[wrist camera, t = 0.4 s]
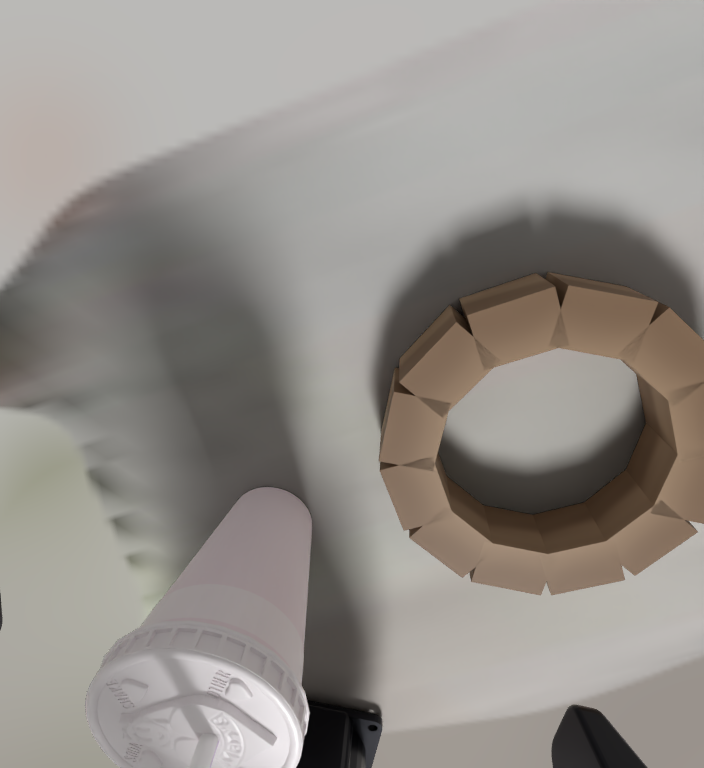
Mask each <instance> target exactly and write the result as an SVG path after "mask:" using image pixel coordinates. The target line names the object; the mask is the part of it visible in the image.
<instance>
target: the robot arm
mask: <svg viewBox="0 0 704 768" xmlns="http://www.w3.org/2000/svg"><path fill="white" fill-rule="evenodd" d="M1 626H2V608H1V595H0V630H1ZM307 702H308V707H309V711H310V714H309V721H308V727H307V733H306V735H305V736H304V742H303V748H302V753H301V757H300V760H299V763H298V765H297V767H296V768H371V767H372V764H373V760H374V757H375V753H376V750H377V746H378V743H379V739H380V736H381V732H382V718H381V717H380V716H378V715H375V714H371V713H366V712H361V711H356V710H351V709H346V708H342V707H337V706H332V705H327V704H322V703H317V702H312V701H307ZM552 762H553V768H647V766H646V765H645V764H644V763H643V762H642V760H641V759H640V758H639V757H638V756H637V754H636V753H635V752H634V751H633V750H632V748H631V747H630V746H629V745H628V744H627V743H626V741H625V740H624V739H623V738H622V737H621V735H620V734H619V733H618V732H617V730H616V729H615V728H614V727H613V726H612V724H611V723H610V722H609V721H608V720H607V719H606V717H605V716H604V715H603V714H602V713H601V712H600V711H598V710H597V709H594V708H589V707H584V706H580V705H571V706H569V707H568V709H567V711H566V712H565V715H564V717H563V719H562V721H561V723H560V725H559V728H558V730H557V732H556V734H555V736H554V739H553V743H552Z"/></svg>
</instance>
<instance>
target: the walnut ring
mask: <svg viewBox="0 0 704 768" xmlns="http://www.w3.org/2000/svg"><path fill="white" fill-rule="evenodd" d="M459 300H460V303H461V306H462V310H463V313H464V316H465V318H464V317H463V316H462V315H461V314H460V313H459V312H457V311H456V310H455V309H454V308H453V307H452V306H451V305H449V306H448V307H447V308H446V309H445V310H444V311H443V313H442V314H441V315H440V316H439V317H438V318H437V319H436V320H435V321H434V322H433V323H432V324H431V325H430V326H429V328H428V329H427V330H426V331H425V332H424V333H423V334H422V335H421V336H420V337H419V338H418V339H417V340H416V341H415V343H414V344H413V345H412V346H411V347H410V348H409V349H408V350H407V351H406V352H405V353H404V354H403V355H402V356H401V358H400V359H399V368H395V369H394V373H393V378H392V383H391V388H390V392H389V397H388V402H387V406H386V411H385V416H384V421H383V425H382V430H381V442H380V454H379V461H380V472H381V475H382V477H383V480H384V482H385V485H386V487H387V490H388V492H389V495H390V497H391V500H392V502H393V505H394V507H395V510H396V512H397V515H398V517H399V520H400V522H401V525H402V527H403V530H408V529H409V538H410V539H412V540H413V541H414V542H416V543H417V544H418V545H420V546H421V547H422V548H423V549H425V550H426V551H427V552H429V553H430V554H431V555H433V556H434V557H435V558H437V559H438V560H439V561H441V562H442V563H443V564H445V565H446V566H447V567H449V568H450V569H451V570H453V571H454V572H455V573H457V574H458V575H459V576H461V577H462V578H463V577H464V576H465V575H466V574H468V573H469V572H470V578H471V582H475V583H481V584H486V585H491V586H496V587H501V588H506V589H511V590H516V591H521V592H526V593H531V594H536V595H541V594H542V591H543V589H544V586H545V584H546V582H547V585H548V588H549V590H550V593H551V595H555V594H560V593H565V592H570V591H574V590H579V589H584V588H589V587H594V586H599V585H604V584H608V583H613V582H618V581H623V580H625V578H624V574H623V570H622V566H624V567H625V568H626V569H627V570H629V571H630V572H631V573H632V574H633V575H637V574H638V573H640V572H641V571H643V570H644V569H646V568H647V567H648V566H650V565H651V564H653V563H654V562H656V561H657V560H658V559H660V558H661V557H663V556H664V555H666V554H667V553H669V552H670V551H671V550H673V549H674V548H676V547H677V546H679V545H680V544H681V543H683V542H684V541H686V540H687V539H689V538H690V537H692V536H693V535H694V534H696V533H697V532H698V531H697V530H696V529H695V528H694V527H693V526H692V524H691V523H690V522H689V521H693V522H698V523H703V524H704V340H703V339H702V338H701V337H700V336H699V335H698V334H696V333H695V332H694V331H693V330H692V329H691V328H690V327H689V326H688V325H687V324H686V323H685V322H684V321H683V320H682V319H681V318H680V317H679V316H678V315H677V314H676V313H675V312H674V311H673V310H672V309H671V308H670V307H668V306H666V305H663V304H661V303H659V302H658V301H656V300H653V299H651V298H649V297H647V296H645V295H643V294H641V293H639V292H637V291H635V290H632V289H630V288H628V287H626V286H621V285H616V284H610V283H605V282H599V281H594V280H589V279H583V278H578V277H572V276H567V275H561V274H556V273H550V272H547V275H546V279H544V278H542V277H541V276H540V275H538V274H537V273H534V274H531V275H528V276H525V277H522V278H519V279H516V280H513V281H510V282H507V283H504V284H501V285H498V286H495V287H493V288H490V289H487V290H484V291H481V292H478V293H475V294H472V295H469V296H466V297H463V298H460V299H459ZM556 348H563V349H568V350H573V351H579V352H584V353H590V354H595V355H600V356H606V357H611V358H616V359H621V360H622V361H623V362H624V363H625V364H626V365H627V366H628V367H629V368H630V369H631V370H633V371H634V372H635V373H636V375H637V380H638V385H639V390H640V395H641V400H642V405H643V410H644V415H645V421H646V424H645V426H644V429H643V431H642V433H641V436H640V438H639V440H638V443H637V445H636V447H635V450H634V452H633V454H632V457H631V459H630V461H629V464H628V466H627V468H626V470H625V471H624V472H622V473H621V474H620V475H618V476H617V477H616V478H615V479H613V480H612V481H611V482H610V483H608V484H607V485H606V486H604V487H603V488H602V489H601V490H599V491H598V492H597V493H596V494H594V495H593V496H592V497H591V498H589V499H588V500H587V501H585V502H584V503H580V504H576V505H571V506H567V507H563V508H559V509H555V510H551V511H547V512H542V513H538V514H534V515H531V514H526V513H521V512H516V511H511V510H505V509H500V508H495V507H490V506H485V505H482V504H481V503H480V502H479V501H477V500H476V499H475V498H474V497H472V496H471V495H470V494H469V493H467V492H466V491H465V490H464V489H462V488H461V487H460V486H458V485H457V484H456V483H455V482H453V481H452V480H451V479H450V478H448V477H447V476H446V473H445V471H444V468H443V465H442V462H441V459H440V456H439V453H438V450H439V446H440V442H441V438H442V434H443V431H444V427H445V423H446V419H447V415H448V412H449V410H450V409H451V408H452V407H453V406H454V405H456V404H457V403H458V402H459V401H460V400H461V399H462V398H463V397H464V396H465V395H466V394H467V393H468V392H469V391H470V390H471V389H472V388H473V387H474V386H475V385H476V384H477V383H478V382H479V381H480V380H481V379H482V378H483V377H484V376H485V375H486V374H487V373H488V372H489V371H490V370H491V369H493V368H494V367H497V366H500V365H504V364H507V363H510V362H514V361H517V360H520V359H523V358H527V357H530V356H533V355H537V354H540V353H543V352H546V351H550V350H553V349H556Z"/></svg>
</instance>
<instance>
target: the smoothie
mask: <svg viewBox="0 0 704 768" xmlns="http://www.w3.org/2000/svg"><path fill="white" fill-rule="evenodd" d="M311 537H312V519H311V515H310V513H309V510H308V509H307V507H306V506H305V504H304V503H303V502H302V501H301V500H300V499H299V498H298V497H296V496H295V495H293V494H292V493H290V492H288V491H285V490H283V489H279V488H274V487H261V488H256V489H253V490H250V491H248V492H247V493H245V494H244V495H242V496H241V497H240V498H239V499H238V501H237V502H236V503H235V505H234V506H233V507H232V508H231V510H230V511H229V512H228V514H227V515H226V516H225V518H224V519H223V520H222V521H221V523H220V524H219V525H218V527H217V528H216V529H215V530H214V532H213V533H212V534H211V536H210V537H209V538H208V539H207V541H206V542H205V543H204V545H203V546H202V547H201V549H200V550H199V551H198V552H197V554H196V555H195V556H194V558H193V559H192V560H191V561H190V563H189V564H188V565H187V567H186V568H185V569H184V571H183V572H182V573H181V574H180V576H179V577H178V578H177V580H176V581H175V582H174V583H173V585H172V586H171V587H170V589H169V590H168V591H167V593H166V594H165V595H164V596H163V598H162V599H161V600H160V602H159V603H158V604H157V605H156V606H155V607H154V609H153V610H152V611H151V613H150V614H149V615H148V617H147V618H146V619H145V621H144V622H143V623H142V625H141V626H140V627H139V628H137V629H135V630H133V631H132V632H130V633H128V634H127V635H125V636H123V637H122V638H120V639H118V640H117V641H116V643H115V644H114V645H113V646H112V647H111V649H110V650H109V651H108V652H107V653H106V654H105V656H104V658H103V661H102V664H101V667H100V669H99V671H98V672H97V674H96V675H95V677H94V679H93V680H92V682H91V684H90V686H89V688H88V691H87V695H86V701H85V712H86V718H87V722H88V725H89V728H90V730H91V732H92V735H93V737H94V738H95V740H96V741H97V743H98V744H99V746H100V748H101V749H102V750H103V752H104V753H105V754H106V755H107V756H108V757H109V758H110V759H111V760H112V761H113V762H114V763H115V764H116V765H117V766H119V767H120V768H296V767H297V765H298V763H299V760H300V757H301V753H302V748H303V742H304V736H305V735H306V733H307V727H308V721H309V714H310V711H309V707H308V702H307V698H306V693H305V690H304V689H303V687H302V674H303V662H304V642H305V627H306V612H307V597H308V582H309V567H310V552H311Z"/></svg>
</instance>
